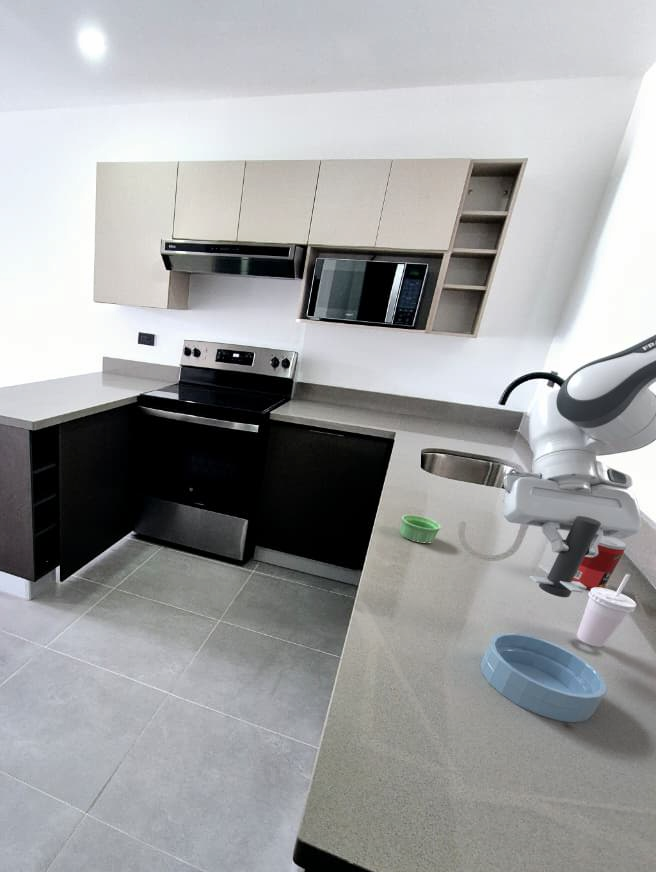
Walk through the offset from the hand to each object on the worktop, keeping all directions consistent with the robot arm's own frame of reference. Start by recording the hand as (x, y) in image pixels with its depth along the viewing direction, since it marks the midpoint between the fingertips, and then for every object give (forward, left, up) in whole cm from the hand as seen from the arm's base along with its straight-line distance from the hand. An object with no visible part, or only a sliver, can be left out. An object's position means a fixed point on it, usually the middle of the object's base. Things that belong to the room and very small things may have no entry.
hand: (575, 553), depth 81 cm
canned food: (-17, -36, -17) cm, 43 cm away
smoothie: (-10, -6, -17) cm, 21 cm away
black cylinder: (0, -1, -7) cm, 7 cm away
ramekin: (+18, -39, -17) cm, 46 cm away
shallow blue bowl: (+3, +15, -17) cm, 23 cm away
